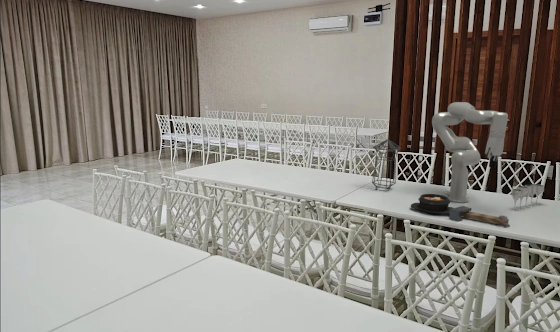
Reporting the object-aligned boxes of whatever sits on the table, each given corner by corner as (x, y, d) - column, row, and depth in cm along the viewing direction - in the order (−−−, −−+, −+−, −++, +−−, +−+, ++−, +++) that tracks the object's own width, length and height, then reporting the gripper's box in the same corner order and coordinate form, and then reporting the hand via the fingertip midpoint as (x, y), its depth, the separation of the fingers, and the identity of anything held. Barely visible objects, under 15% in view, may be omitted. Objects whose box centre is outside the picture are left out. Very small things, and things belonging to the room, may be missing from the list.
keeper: (449, 218, 214) (450, 209, 212) (462, 215, 220) (463, 205, 219) (457, 221, 209) (458, 211, 208) (470, 217, 216) (471, 208, 214)
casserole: (407, 212, 225) (408, 197, 224) (414, 203, 241) (415, 190, 239) (454, 219, 213) (456, 204, 211) (458, 210, 229) (460, 196, 227)
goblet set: (516, 211, 227) (519, 189, 224) (507, 209, 232) (509, 187, 229) (543, 204, 240) (546, 183, 238) (534, 202, 245) (536, 181, 242)
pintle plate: (491, 224, 205) (491, 223, 205) (499, 221, 209) (499, 221, 209) (505, 228, 200) (505, 227, 199) (512, 225, 203) (512, 225, 203)
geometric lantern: (376, 185, 285) (380, 137, 278) (398, 189, 276) (403, 139, 269) (368, 189, 273) (371, 139, 266) (390, 193, 264) (394, 141, 257)
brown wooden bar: (508, 223, 205) (509, 216, 204) (506, 225, 201) (507, 218, 200) (462, 214, 219) (462, 207, 218) (459, 216, 215) (460, 209, 214)
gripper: (498, 133, 225) (493, 164, 229) (482, 134, 217) (478, 167, 221) (511, 135, 219) (506, 167, 223) (496, 137, 211) (491, 170, 215)
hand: (492, 167), depth 222 cm, fingers closed
